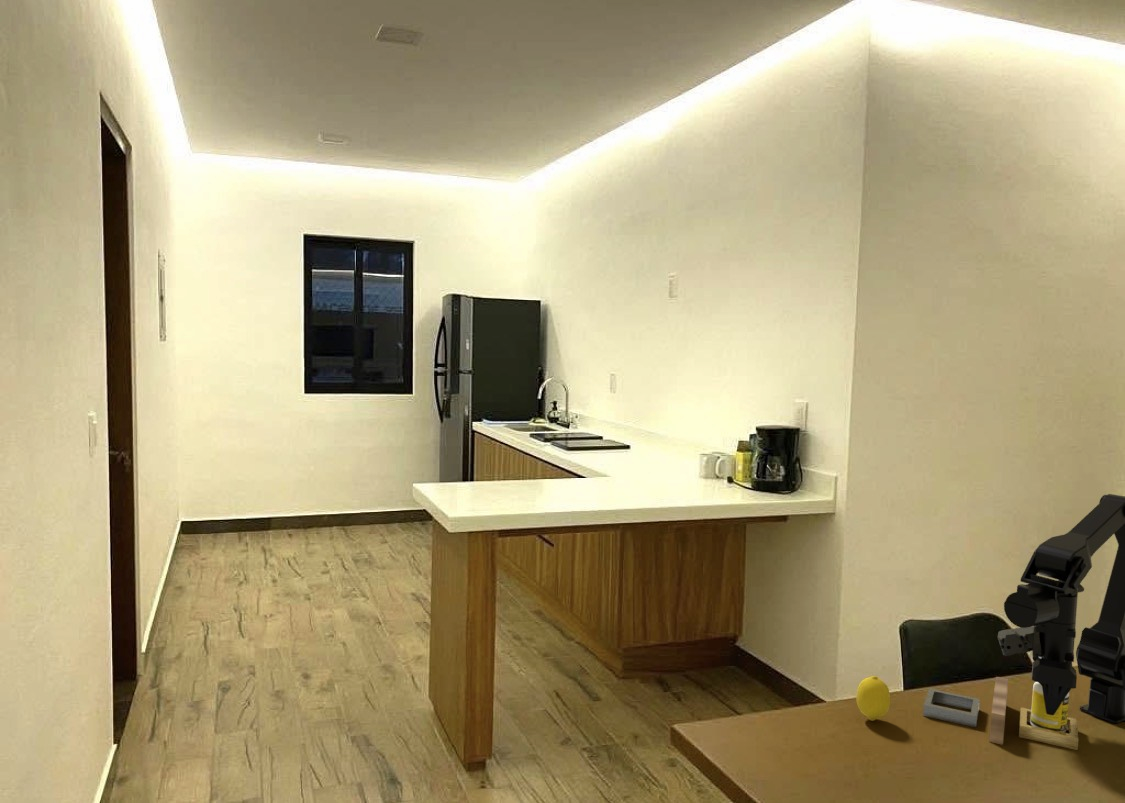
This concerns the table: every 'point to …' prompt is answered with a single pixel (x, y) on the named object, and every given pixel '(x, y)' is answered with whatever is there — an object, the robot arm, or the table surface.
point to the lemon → (873, 698)
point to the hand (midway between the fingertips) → (1049, 708)
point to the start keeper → (949, 713)
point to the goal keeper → (1048, 732)
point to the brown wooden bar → (998, 711)
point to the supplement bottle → (1044, 720)
